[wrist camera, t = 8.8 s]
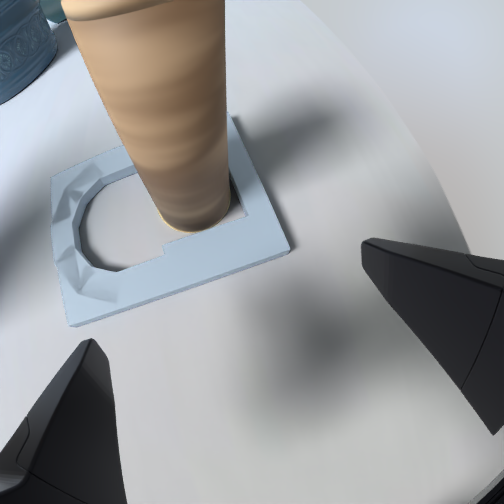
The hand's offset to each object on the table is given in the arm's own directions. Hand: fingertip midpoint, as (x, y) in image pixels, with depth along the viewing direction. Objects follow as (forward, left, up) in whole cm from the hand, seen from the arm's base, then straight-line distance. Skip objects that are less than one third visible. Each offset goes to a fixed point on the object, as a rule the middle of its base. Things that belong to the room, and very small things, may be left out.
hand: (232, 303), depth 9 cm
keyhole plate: (+4, +7, -8) cm, 12 cm away
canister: (+14, +38, -8) cm, 41 cm away
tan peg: (+6, +6, -8) cm, 11 cm away
